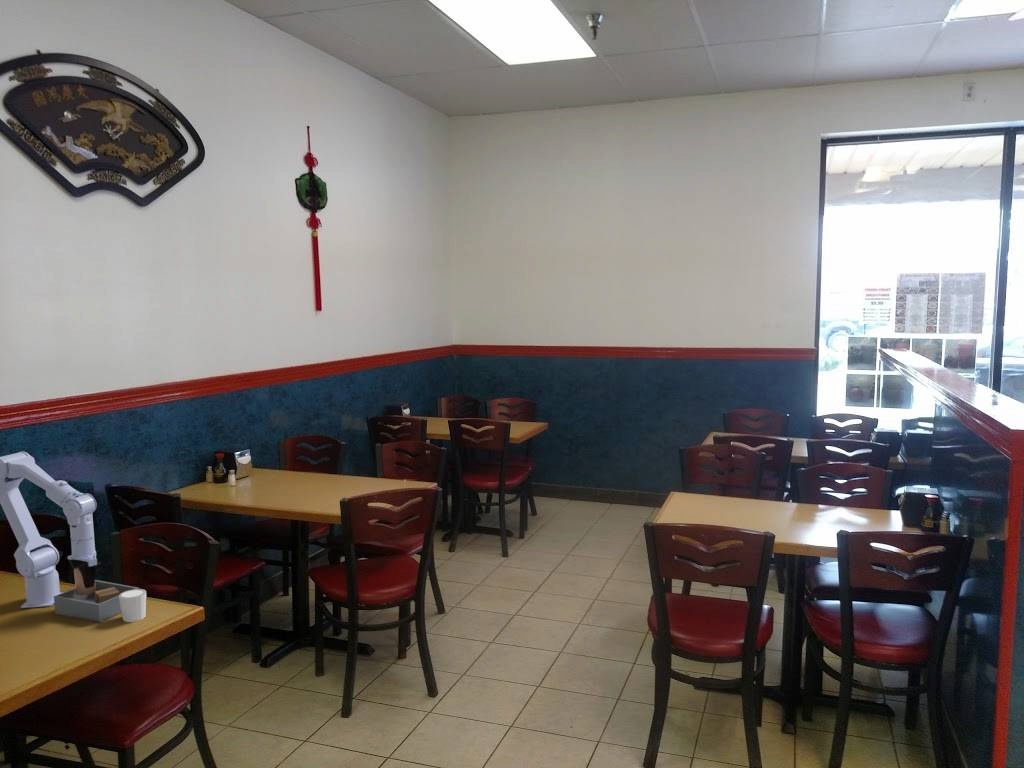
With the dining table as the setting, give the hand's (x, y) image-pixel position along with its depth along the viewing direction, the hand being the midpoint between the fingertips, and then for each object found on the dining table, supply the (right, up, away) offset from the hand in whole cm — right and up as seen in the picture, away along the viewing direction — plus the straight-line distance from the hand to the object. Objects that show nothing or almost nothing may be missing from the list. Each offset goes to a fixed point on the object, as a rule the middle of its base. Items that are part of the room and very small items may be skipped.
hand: (86, 584), depth 217 cm
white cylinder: (+17, -8, -7) cm, 20 cm away
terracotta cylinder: (0, -2, 0) cm, 2 cm away
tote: (+4, -7, -1) cm, 8 cm away
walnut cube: (+7, -6, -2) cm, 10 cm away
